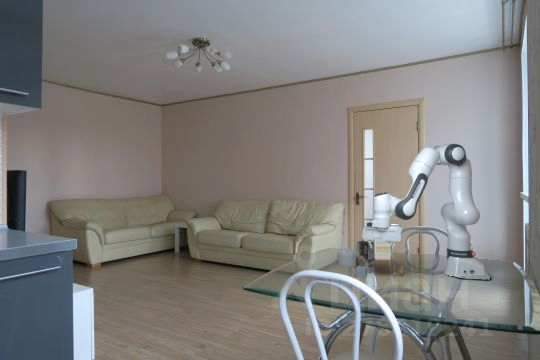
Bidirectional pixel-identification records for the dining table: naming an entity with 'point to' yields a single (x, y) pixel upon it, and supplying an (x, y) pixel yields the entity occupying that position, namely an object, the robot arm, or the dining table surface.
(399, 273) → the walnut block
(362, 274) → the slate block
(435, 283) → the dining table surface
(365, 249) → the coffee box
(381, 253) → the supplement box
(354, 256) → the lumpy-topped squat cylinder
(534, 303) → the dining table surface
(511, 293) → the dining table surface
